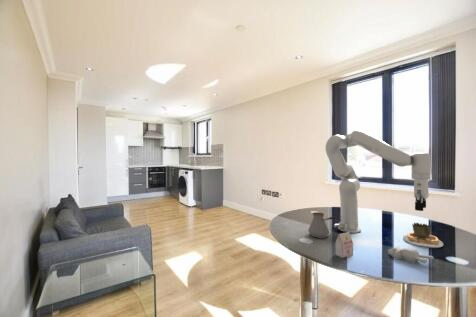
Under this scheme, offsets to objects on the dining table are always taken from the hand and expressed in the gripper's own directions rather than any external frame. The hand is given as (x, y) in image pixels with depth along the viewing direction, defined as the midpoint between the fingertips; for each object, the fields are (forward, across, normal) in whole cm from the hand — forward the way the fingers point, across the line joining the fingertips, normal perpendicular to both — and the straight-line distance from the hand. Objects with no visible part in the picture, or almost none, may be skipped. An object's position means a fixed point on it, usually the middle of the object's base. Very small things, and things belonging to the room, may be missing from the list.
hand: (420, 209), depth 116 cm
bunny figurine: (+18, -30, 0) cm, 35 cm away
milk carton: (+18, -44, +22) cm, 52 cm away
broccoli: (+16, 0, 0) cm, 16 cm away
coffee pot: (+18, -29, +38) cm, 51 cm away
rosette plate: (+17, 0, -1) cm, 17 cm away
